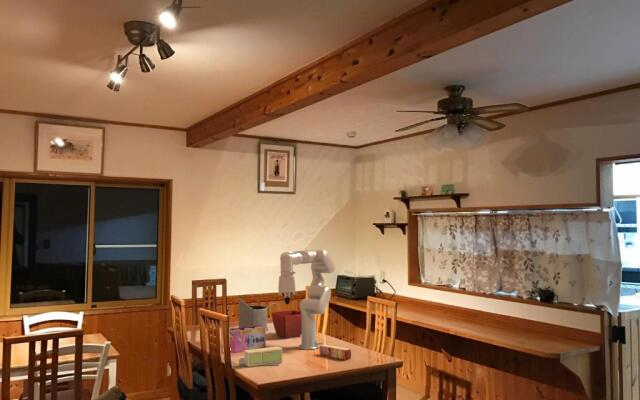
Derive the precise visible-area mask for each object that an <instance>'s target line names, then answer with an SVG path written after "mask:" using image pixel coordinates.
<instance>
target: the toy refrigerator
mask: <svg viewBox="0 0 640 400" xmlns="http://www.w3.org/2000/svg"><path fill="white" fill-rule="evenodd" d="M244 358H245V365H247V366H248V367H249V368H251V367H250V366H254V367H259V366H258V365H265V364H273V363H278V364H279V363H280V364H282V363H283V348H282V347H280V346H272V347H271V346H270V347H265V348H261V349H252V350H245V351H244ZM248 367H247V368H248Z"/></svg>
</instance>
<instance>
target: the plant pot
mask: <svg viewBox="0 0 640 400" xmlns="http://www.w3.org/2000/svg"><path fill="white" fill-rule="evenodd" d="M270 314H271V318H272V320H273V321H272V320H271V321H272V323H273V328H274V331H275V334H276V336H277V337H280V338H282V339H285V340H286V339H287V340H288V339H293V338H301V311H297V310H294V309H291V310H282V311H281V310H279V311H278V310H277V311H271V313H270Z"/></svg>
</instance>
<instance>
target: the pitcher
mask: <svg viewBox="0 0 640 400" xmlns="http://www.w3.org/2000/svg"><path fill="white" fill-rule="evenodd" d="M274 304H275V305H277V312H278V311H280V306H279V304H278V303H277V302H271V303H270V304H268V305H267V306H265V305H251V304H250V305H249V304H247V303H246V302H244V300H243V299H241V298H240V297H239V298H238V308H239V309H238V328H244V327H251V326H262V327H265V333H268V332H269V328H268V324H270V323H273V320H270V321H268V309H269V307H270V306H271V305H274Z"/></svg>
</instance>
